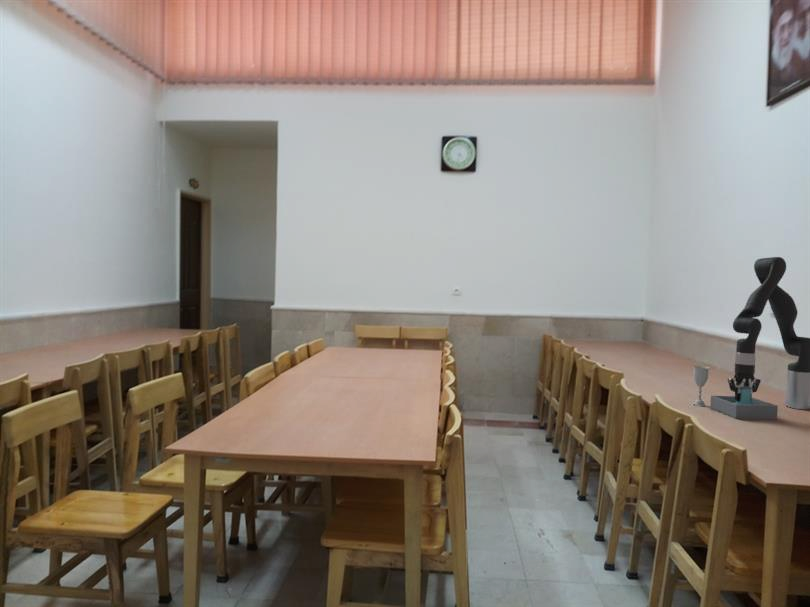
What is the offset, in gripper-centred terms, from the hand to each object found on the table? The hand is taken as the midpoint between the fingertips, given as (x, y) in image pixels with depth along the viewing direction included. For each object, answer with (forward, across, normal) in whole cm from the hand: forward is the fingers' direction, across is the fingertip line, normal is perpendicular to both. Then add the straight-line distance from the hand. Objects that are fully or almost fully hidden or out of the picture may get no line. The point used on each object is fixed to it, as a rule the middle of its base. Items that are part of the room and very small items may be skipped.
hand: (742, 401), depth 238 cm
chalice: (+6, +10, -16) cm, 20 cm away
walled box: (+6, 0, 0) cm, 6 cm away
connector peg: (+3, 0, 0) cm, 3 cm away
